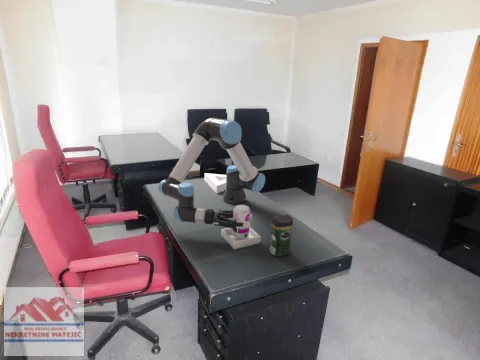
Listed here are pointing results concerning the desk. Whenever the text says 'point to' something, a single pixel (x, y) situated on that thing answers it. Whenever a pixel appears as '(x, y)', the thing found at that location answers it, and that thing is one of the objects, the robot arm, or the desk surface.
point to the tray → (240, 243)
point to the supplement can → (241, 215)
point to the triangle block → (216, 182)
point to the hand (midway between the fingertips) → (251, 220)
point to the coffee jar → (281, 235)
